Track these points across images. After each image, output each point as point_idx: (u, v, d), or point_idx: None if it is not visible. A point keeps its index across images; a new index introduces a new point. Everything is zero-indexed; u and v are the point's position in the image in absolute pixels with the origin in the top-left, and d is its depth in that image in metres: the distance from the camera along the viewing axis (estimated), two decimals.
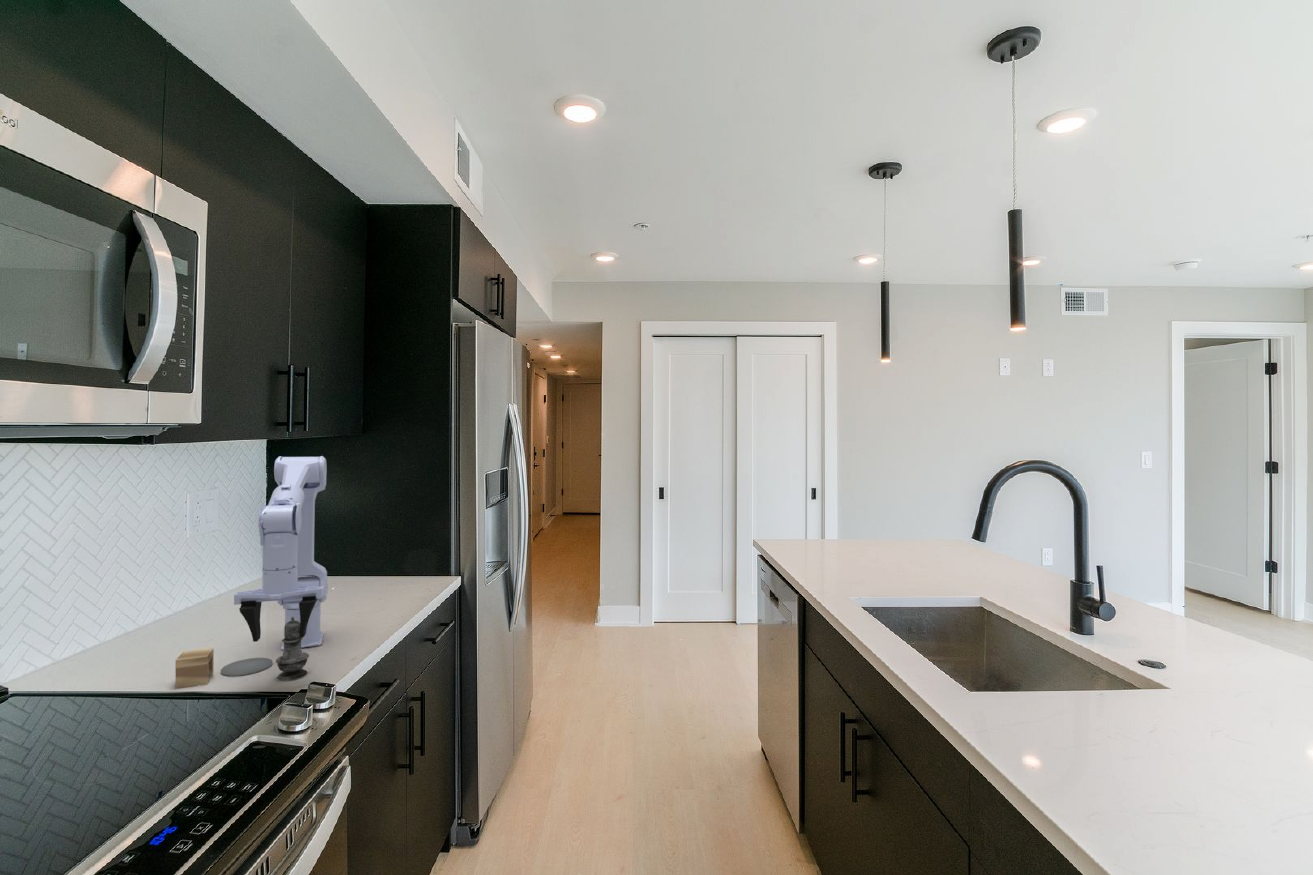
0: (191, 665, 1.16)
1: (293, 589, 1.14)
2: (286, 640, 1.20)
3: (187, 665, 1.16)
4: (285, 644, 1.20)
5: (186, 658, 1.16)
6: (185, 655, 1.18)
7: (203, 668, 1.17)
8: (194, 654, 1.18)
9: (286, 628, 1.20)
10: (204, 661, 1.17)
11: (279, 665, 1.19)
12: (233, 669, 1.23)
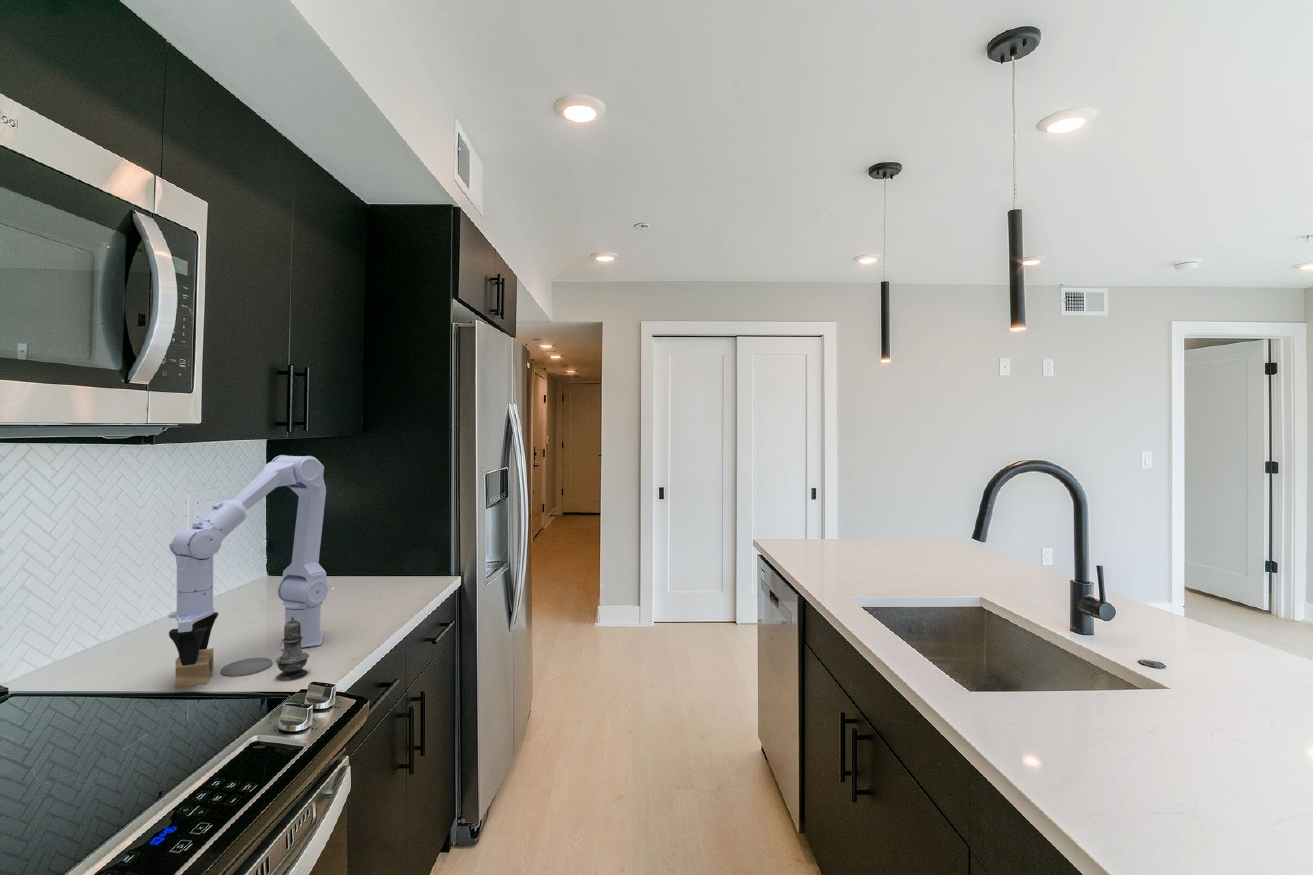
0: (191, 665, 1.16)
1: (182, 614, 1.15)
2: (286, 640, 1.20)
3: (187, 665, 1.16)
4: (285, 644, 1.20)
5: None
6: None
7: (203, 668, 1.17)
8: None
9: (286, 628, 1.20)
10: (204, 661, 1.17)
11: (279, 665, 1.19)
12: (233, 669, 1.23)
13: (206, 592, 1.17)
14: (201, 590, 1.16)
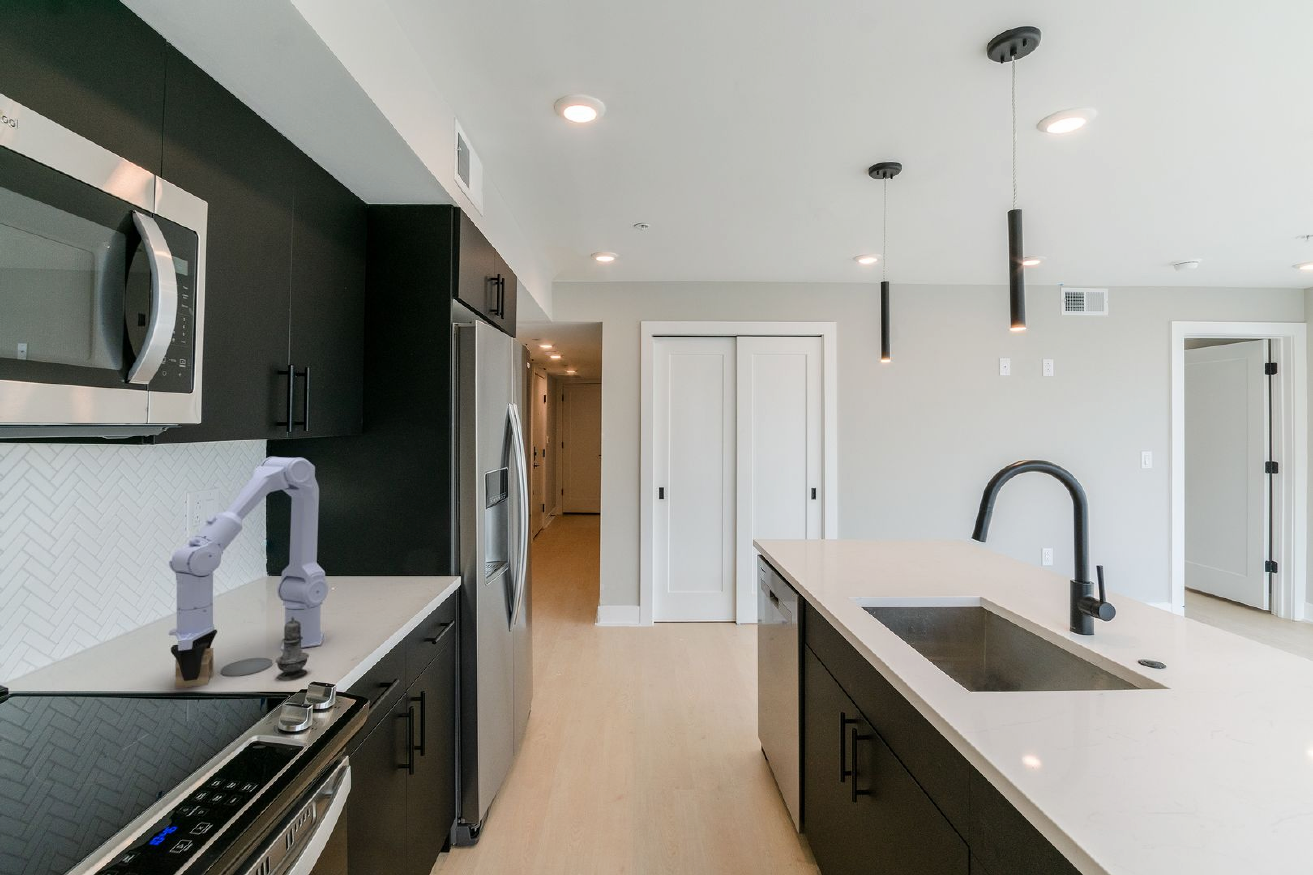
0: None
1: (182, 631, 1.15)
2: (286, 640, 1.20)
3: None
4: (285, 644, 1.20)
5: None
6: None
7: (203, 668, 1.17)
8: None
9: (286, 628, 1.20)
10: (204, 661, 1.17)
11: (279, 665, 1.19)
12: (233, 669, 1.23)
13: (206, 609, 1.17)
14: (201, 607, 1.17)
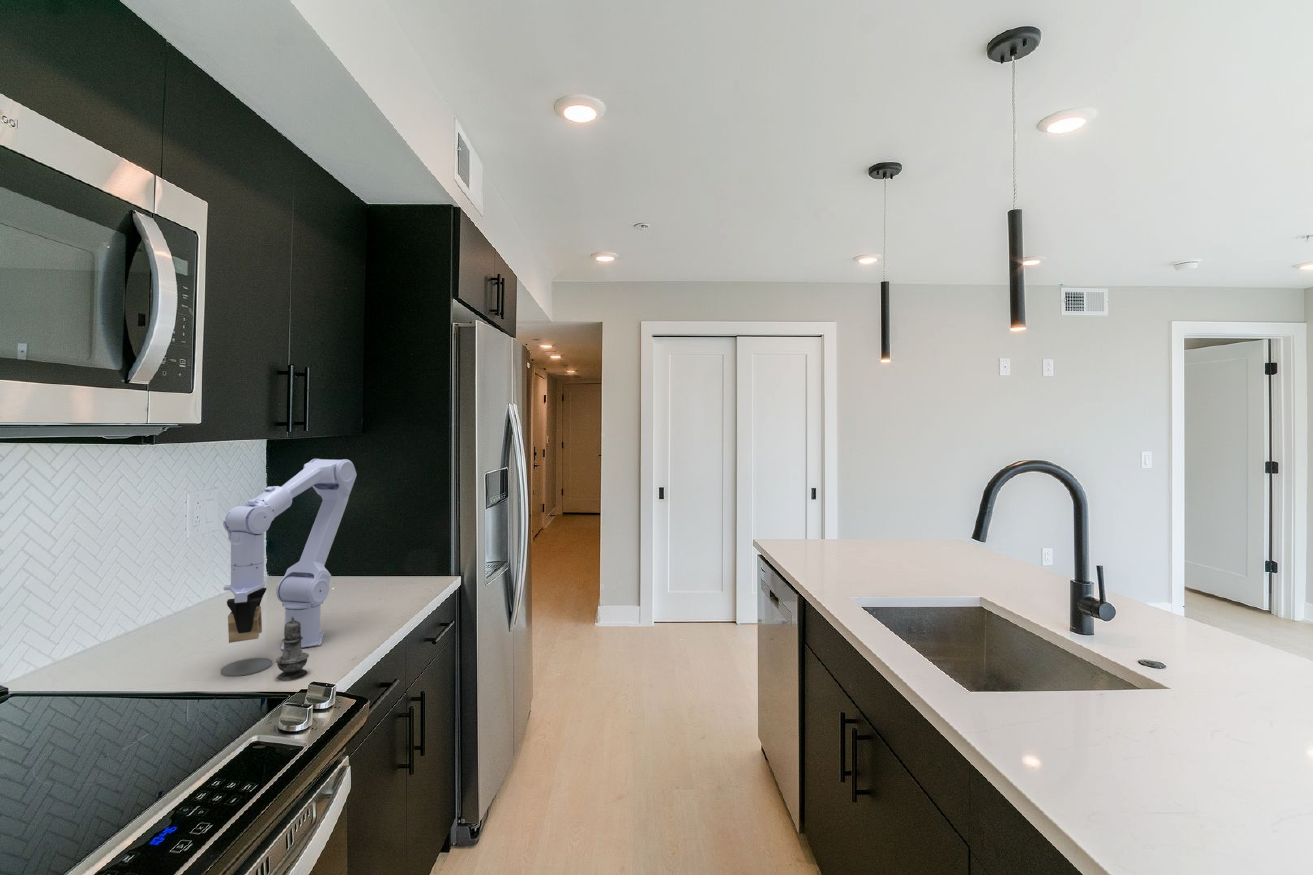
0: None
1: (237, 586, 1.22)
2: (286, 640, 1.20)
3: None
4: (285, 644, 1.20)
5: None
6: None
7: (253, 623, 1.24)
8: None
9: (286, 628, 1.20)
10: (254, 617, 1.24)
11: (279, 665, 1.19)
12: (233, 669, 1.23)
13: (258, 566, 1.24)
14: (254, 564, 1.23)
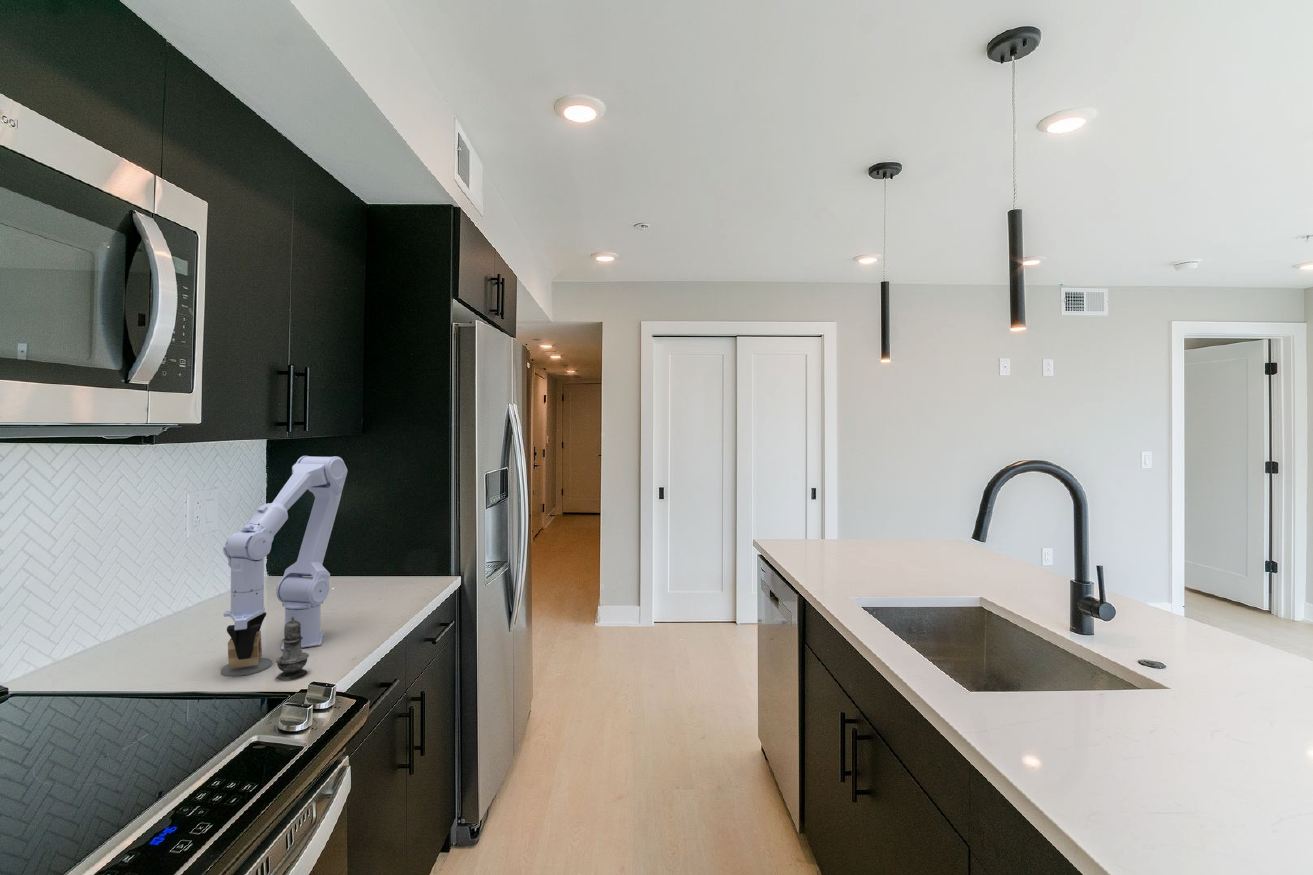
0: None
1: (237, 612, 1.22)
2: (286, 640, 1.20)
3: None
4: (285, 644, 1.20)
5: None
6: None
7: (253, 649, 1.24)
8: None
9: (286, 628, 1.20)
10: (254, 643, 1.24)
11: (279, 665, 1.19)
12: (233, 669, 1.23)
13: (258, 592, 1.24)
14: (254, 590, 1.24)
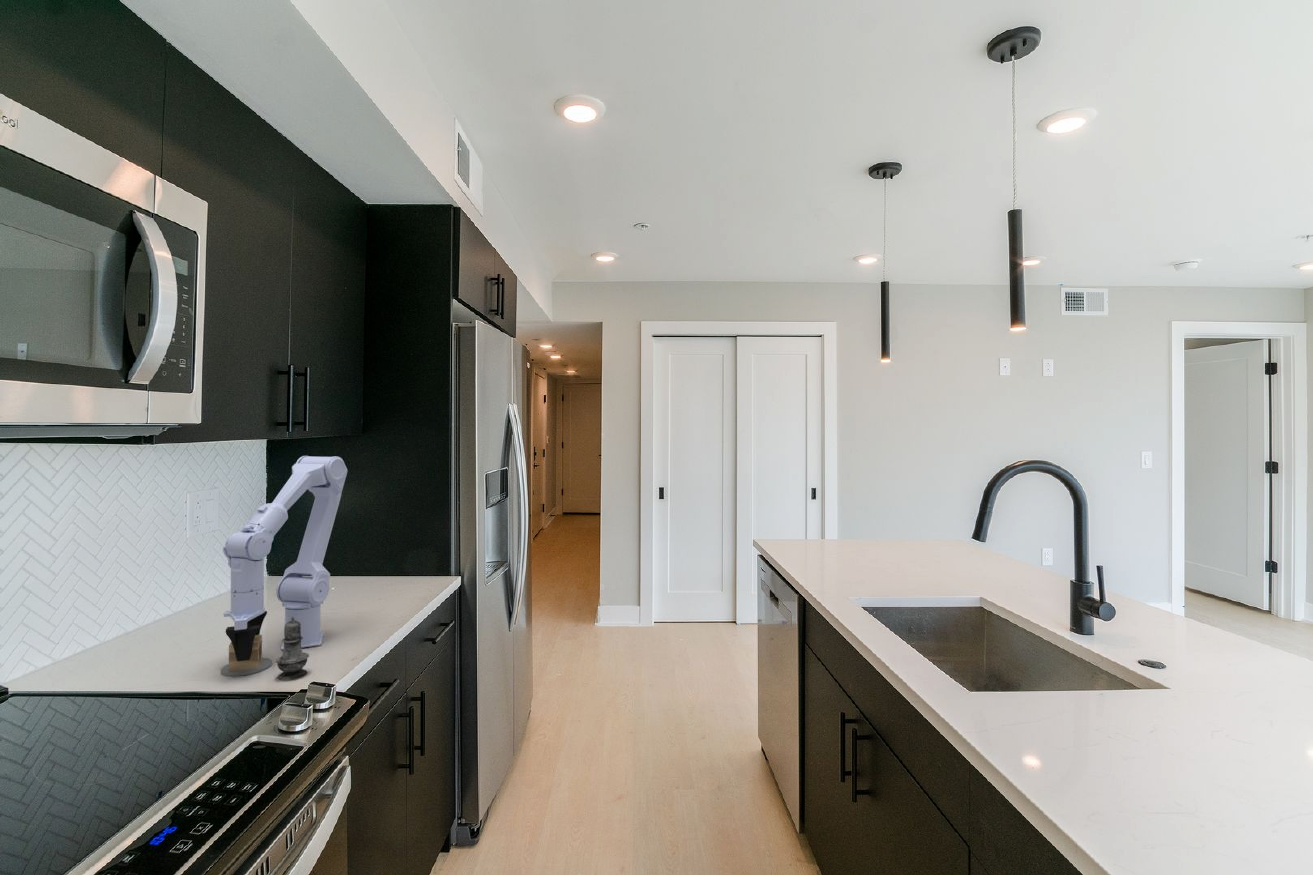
0: None
1: (237, 612, 1.22)
2: (286, 640, 1.20)
3: None
4: (285, 644, 1.20)
5: None
6: None
7: (254, 653, 1.24)
8: None
9: (286, 628, 1.20)
10: (255, 646, 1.24)
11: (279, 665, 1.19)
12: None
13: (258, 592, 1.24)
14: (254, 590, 1.24)
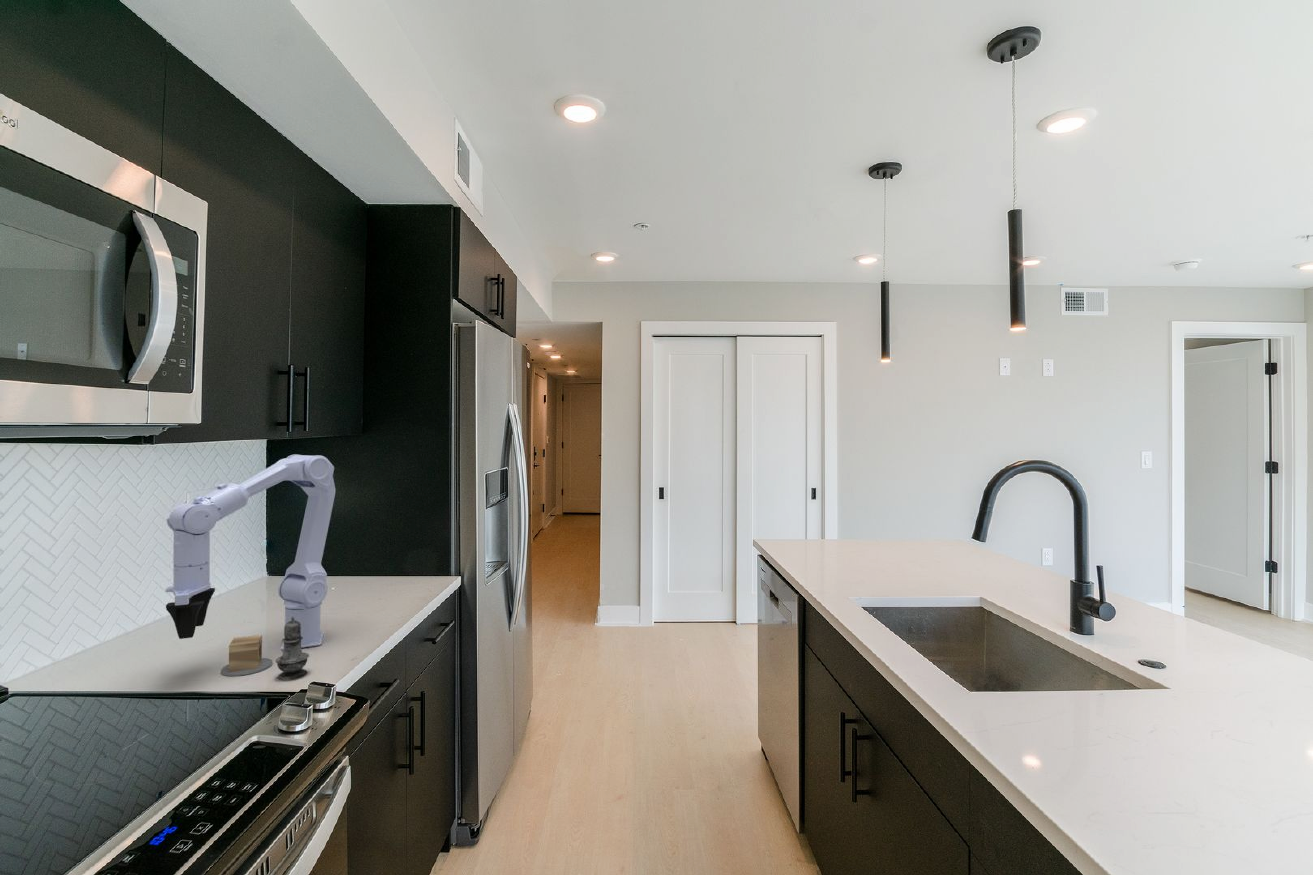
0: (243, 650, 1.23)
1: (179, 588, 1.17)
2: (286, 640, 1.20)
3: (239, 650, 1.23)
4: (285, 644, 1.20)
5: (238, 643, 1.23)
6: (237, 640, 1.24)
7: (254, 653, 1.24)
8: (246, 640, 1.25)
9: (286, 628, 1.20)
10: (255, 646, 1.24)
11: (279, 665, 1.19)
12: None
13: (203, 567, 1.19)
14: (198, 565, 1.18)
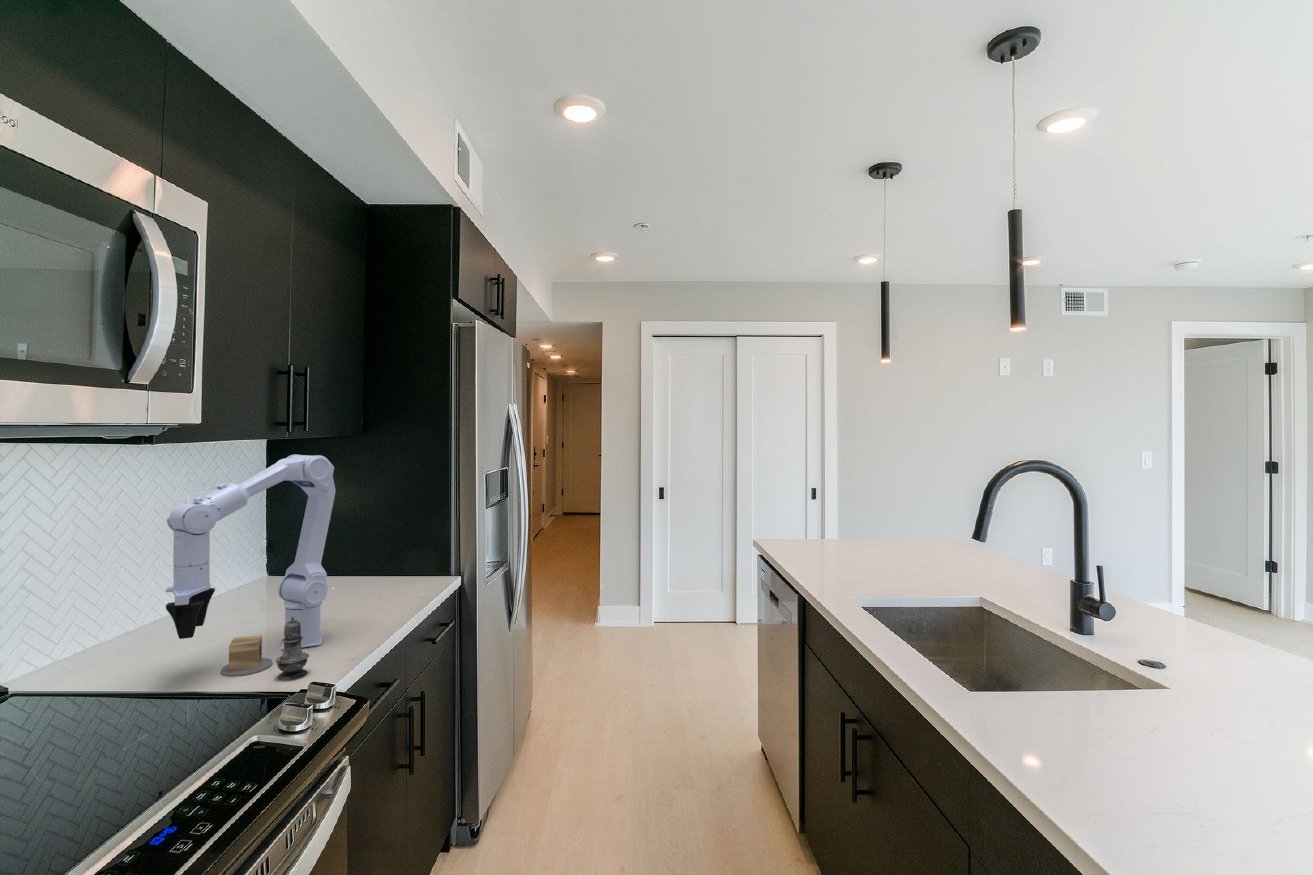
0: (243, 650, 1.23)
1: (179, 588, 1.17)
2: (286, 640, 1.20)
3: (239, 650, 1.23)
4: (285, 644, 1.20)
5: (238, 643, 1.23)
6: (237, 640, 1.24)
7: (254, 653, 1.24)
8: (246, 640, 1.25)
9: (286, 628, 1.20)
10: (255, 646, 1.24)
11: (279, 665, 1.19)
12: None
13: (202, 567, 1.19)
14: (198, 565, 1.18)
